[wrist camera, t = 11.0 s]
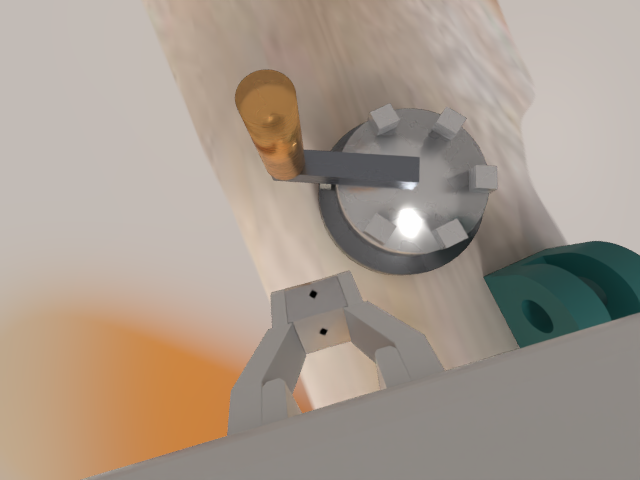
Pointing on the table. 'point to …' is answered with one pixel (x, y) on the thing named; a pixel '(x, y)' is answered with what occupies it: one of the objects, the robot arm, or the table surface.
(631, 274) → the bracket
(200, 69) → the table surface
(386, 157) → the lugged valve handwheel
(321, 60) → the table surface
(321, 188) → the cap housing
